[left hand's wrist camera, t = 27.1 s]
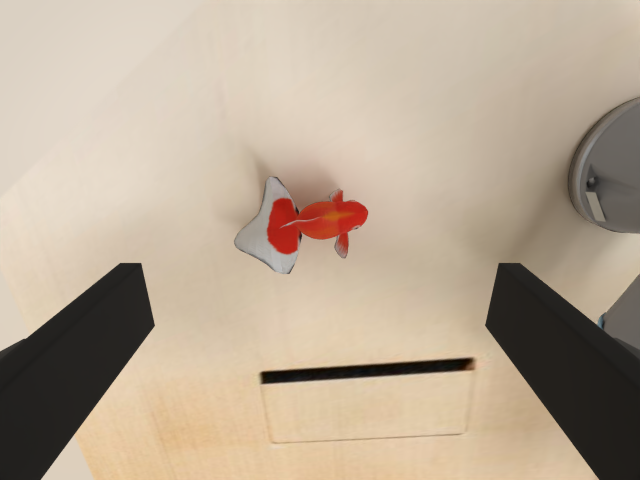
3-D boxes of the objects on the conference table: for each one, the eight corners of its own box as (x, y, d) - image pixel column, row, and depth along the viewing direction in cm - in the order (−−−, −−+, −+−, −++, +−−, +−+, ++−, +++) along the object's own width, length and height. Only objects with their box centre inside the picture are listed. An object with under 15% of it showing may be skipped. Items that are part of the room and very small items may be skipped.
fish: (368, 285, 40) (338, 298, 31) (258, 261, 46) (206, 266, 37) (382, 194, 39) (356, 179, 30) (268, 182, 46) (218, 167, 36)
